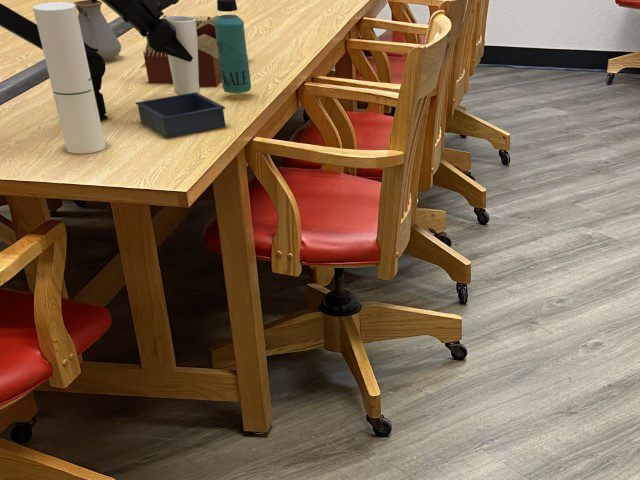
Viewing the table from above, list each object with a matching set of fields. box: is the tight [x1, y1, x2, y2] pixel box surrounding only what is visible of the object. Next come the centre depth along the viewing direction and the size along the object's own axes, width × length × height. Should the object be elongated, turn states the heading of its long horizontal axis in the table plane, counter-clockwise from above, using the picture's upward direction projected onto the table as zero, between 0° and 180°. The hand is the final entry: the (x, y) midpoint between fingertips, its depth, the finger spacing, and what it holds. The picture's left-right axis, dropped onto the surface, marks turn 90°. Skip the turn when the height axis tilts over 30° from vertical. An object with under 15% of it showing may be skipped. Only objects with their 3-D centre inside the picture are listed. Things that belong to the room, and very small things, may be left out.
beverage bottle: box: [214, 0, 252, 94], centre depth 210 cm, size 6×7×20 cm
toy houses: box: [140, 15, 222, 88], centre depth 237 cm, size 45×20×10 cm, turn 2°
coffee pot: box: [72, 0, 122, 63], centre depth 232 cm, size 21×12×15 cm, turn 12°
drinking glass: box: [162, 15, 201, 96], centre depth 206 cm, size 7×7×15 cm
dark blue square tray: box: [135, 92, 226, 139], centre depth 198 cm, size 13×13×4 cm
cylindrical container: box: [32, 1, 106, 155], centre depth 179 cm, size 7×7×25 cm
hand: (188, 56), depth 206 cm, fingers closed on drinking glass, 6 cm apart
